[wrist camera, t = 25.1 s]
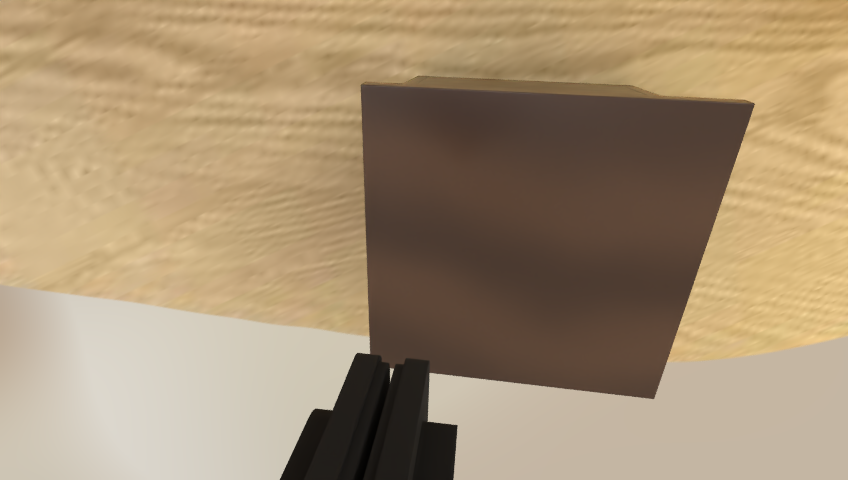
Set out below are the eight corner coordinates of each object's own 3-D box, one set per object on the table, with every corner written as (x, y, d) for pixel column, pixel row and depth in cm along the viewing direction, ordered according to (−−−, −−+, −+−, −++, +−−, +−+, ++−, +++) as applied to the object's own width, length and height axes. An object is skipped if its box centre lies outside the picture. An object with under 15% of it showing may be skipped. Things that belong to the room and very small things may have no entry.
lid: (365, 81, 20) (360, 84, 19) (745, 99, 18) (755, 103, 18) (373, 356, 27) (370, 366, 26) (649, 388, 25) (654, 399, 25)
